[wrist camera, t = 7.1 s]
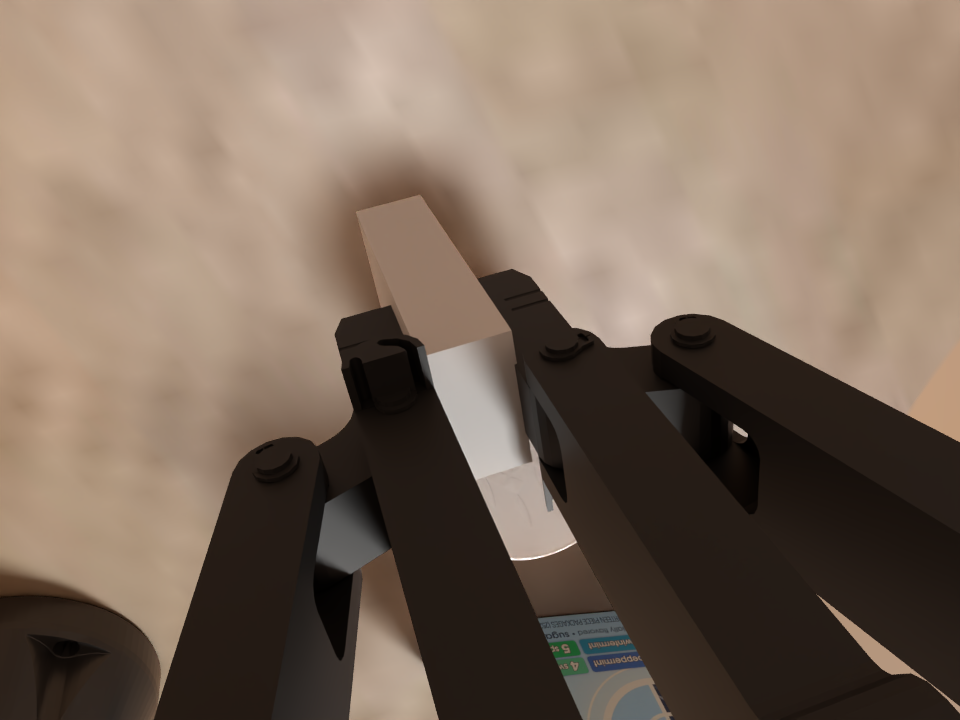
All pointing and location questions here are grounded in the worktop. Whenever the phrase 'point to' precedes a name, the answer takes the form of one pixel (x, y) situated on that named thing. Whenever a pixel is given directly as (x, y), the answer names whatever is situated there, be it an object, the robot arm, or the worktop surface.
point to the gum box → (603, 668)
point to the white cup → (525, 512)
